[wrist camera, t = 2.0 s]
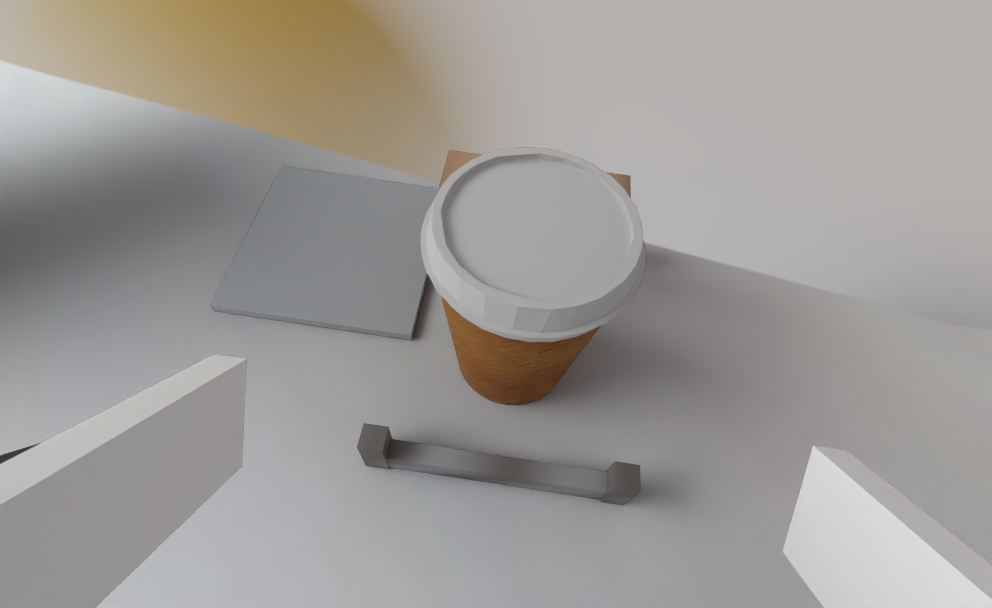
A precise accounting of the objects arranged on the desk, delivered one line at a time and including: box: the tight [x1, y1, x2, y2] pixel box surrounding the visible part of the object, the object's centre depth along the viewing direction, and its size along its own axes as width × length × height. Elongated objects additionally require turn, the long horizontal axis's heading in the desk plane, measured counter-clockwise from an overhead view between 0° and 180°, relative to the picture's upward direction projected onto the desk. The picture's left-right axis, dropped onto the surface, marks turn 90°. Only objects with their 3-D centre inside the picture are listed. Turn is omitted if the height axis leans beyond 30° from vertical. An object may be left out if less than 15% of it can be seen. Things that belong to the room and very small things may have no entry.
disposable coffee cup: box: [420, 147, 646, 405], centre depth 26 cm, size 10×10×12 cm
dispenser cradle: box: [357, 150, 640, 505], centre depth 29 cm, size 13×18×6 cm
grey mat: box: [210, 166, 440, 340], centre depth 34 cm, size 12×12×1 cm
